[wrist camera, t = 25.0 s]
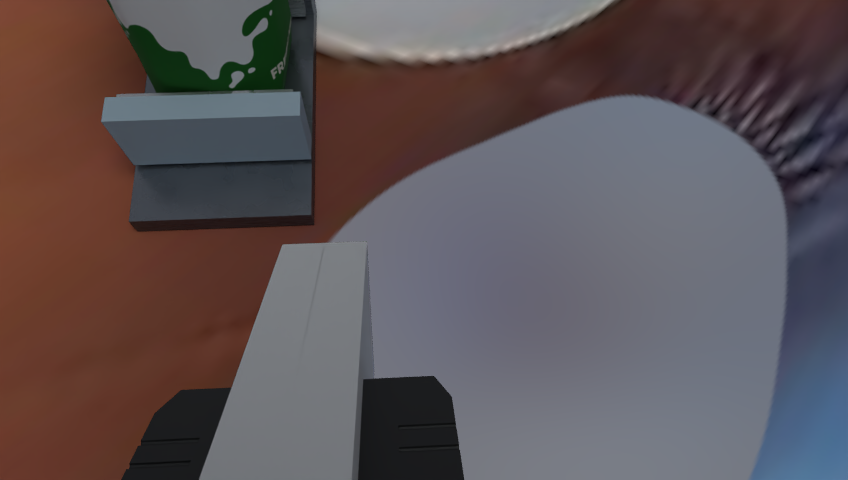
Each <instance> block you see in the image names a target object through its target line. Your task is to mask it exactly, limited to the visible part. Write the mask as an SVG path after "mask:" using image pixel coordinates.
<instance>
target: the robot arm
mask: <svg viewBox="0 0 848 480" xmlns="http://www.w3.org/2000/svg"><path fill="white" fill-rule="evenodd" d="M368 270H369V269H368V251H367V241H365V242H364V241H363V242H336V243H310V244H284V245H282V247H281V250H280V253H279V256H278V259H277V262H276V264H275V267H274V270H273V273H272V276H271V278H270V281H269V284H268V287H267V290H266V292H265V295H264V298H263V301H262V304H261V307H260V309H259V312H258V315H257V318H256V321H255V323H254V326H253V329H252V332H251V335H250V337H249V340H248V343H247V346H246V349H245V351H244V354H243V357H242V360H241V363H240V366H239V368H238V371H237V374H236V377H235V380H234V382H233V385H232V388H216V389H195V390H181V391H180V392H178V393H177V394H176V395H175V396H174V397H173V398H172V399H171V400H169V401H168V402H167V403H166V404H165V405H164V406H163V407H161V408H160V409H159V410H158V411H157V412H156V413H155V414H154V416H153V418H152V420H151V422H150V424H149V426H148V428H147V430H146V432H145V434H144V436H143V438H142V440H141V446H138V448H137V450H136V452H135V454H134V456H133V457H132V459H131V461H130V468H129V469H126V471H125V473H124V475H123V477H122V479H121V480H464V475H463V470H462V462H461V455H460V450H459V442H458V436H457V429H456V423H455V415H454V409H453V402H452V397H451V396H450V394H449V393H448V392H447V391H446V390H445V388H444V387H443V386H442V385H441V384H440V383H439V382H438V381H437V379H436V378H435V377H434V376H425V377H424V376H422V377H400V378H381V379H380V378H379V379H374V359H373V343H372V342H373V341H372V326H371V325H372V323H371V306H370V288H369V271H368Z"/></svg>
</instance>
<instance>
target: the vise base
mask: <svg viewBox="0 0 848 480" xmlns="http://www.w3.org/2000/svg"><path fill="white" fill-rule="evenodd" d="M288 2H289V7H290V12H291V36H292V41H291V48H290V55H289V62H288V69H287V76H286V83H285V89H293V92H301V96H302V100H303V104H304V108H305V112H306V117H307V121H308V125H309V129H310V133H311V137H312V142H311V159H305V160H275V161H245V162H215V163H185V164H155V165H136V168H135V176H134V184H133V192H132V201H131V209H130V217H129V222H130V223H131V224H132V226H133V227H134V228H135V229H136V230H137V231H162V230H189V229H216V228H243V227H270V226H297V225H314V198H315V109H316V21H317V11H316V5H315V0H288ZM145 93H156V91H155V89H154V87H153V85H152V83H151V81H150V79H149V77H148V75H147V79H146V87H145Z"/></svg>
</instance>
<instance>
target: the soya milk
mask: <svg viewBox="0 0 848 480" xmlns="http://www.w3.org/2000/svg"><path fill="white" fill-rule="evenodd" d="M107 2H108V4H109V5H110V7H111V9H112V11H113V13H114V14H115V16H116V18H117V20H118V21H119V23H120V25H121V27H122V28H123V30H124V32H125V34H126V35H127V37H128V39H129V41H130V43H131V44H132V46H133V48H134V50H135V51H136V53H137V55H138V57H139V59H140V61H141V63H142V65H143V67H144V69H145V71H146V73H147V75H148V77H149V79H150V81H151V83H152V85H153V87H154V89H155V91H156V93H177V92H211V91H245V90H279V89H285V83H286V76H287V69H288V62H289V55H290V48H291V41H292V36H291V12H290V7H289V2H288V0H107Z"/></svg>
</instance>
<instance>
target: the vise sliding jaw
mask: <svg viewBox="0 0 848 480" xmlns="http://www.w3.org/2000/svg"><path fill="white" fill-rule="evenodd" d="M101 122H102V123H103V125H104V126H105V127H106V129H107V130H108V131H109V133H110V134H111V135H112V137H113V138H114V139H115V141H116V142H117V143H118V145H119V146H120V147H121V149H122V150H123V151H124V153H125V154H126V155H127V157H128V158H129V159H130V161H131V162H132V163H133V165H155V164H185V163H215V162H245V161H275V160H305V159H311V142H312V137H311V133H310V129H309V125H308V121H307V117H306V112H305V108H304V104H303V100H302V96H301V92H293V89H279V90H245V91H211V92H177V93H143V94H117V96H116V97H105V100H104V107H103V113H102V120H101Z"/></svg>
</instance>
